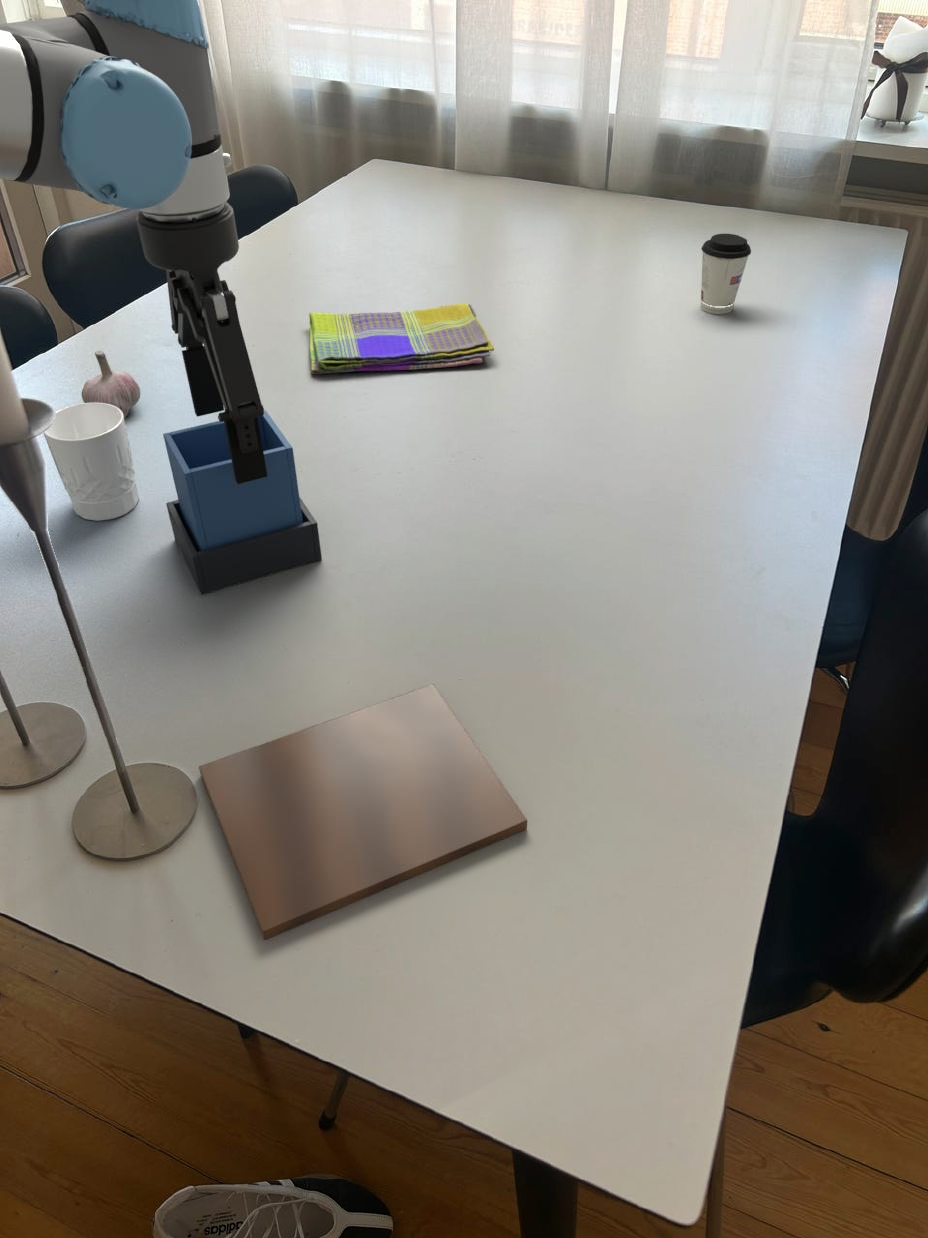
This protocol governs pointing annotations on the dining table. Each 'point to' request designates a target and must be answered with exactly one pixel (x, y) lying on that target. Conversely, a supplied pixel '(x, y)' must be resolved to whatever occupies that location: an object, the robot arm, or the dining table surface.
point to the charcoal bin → (247, 552)
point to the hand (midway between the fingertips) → (229, 443)
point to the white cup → (94, 460)
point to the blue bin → (231, 485)
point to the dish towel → (397, 340)
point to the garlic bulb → (111, 387)
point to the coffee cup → (722, 271)
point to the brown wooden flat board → (355, 807)
